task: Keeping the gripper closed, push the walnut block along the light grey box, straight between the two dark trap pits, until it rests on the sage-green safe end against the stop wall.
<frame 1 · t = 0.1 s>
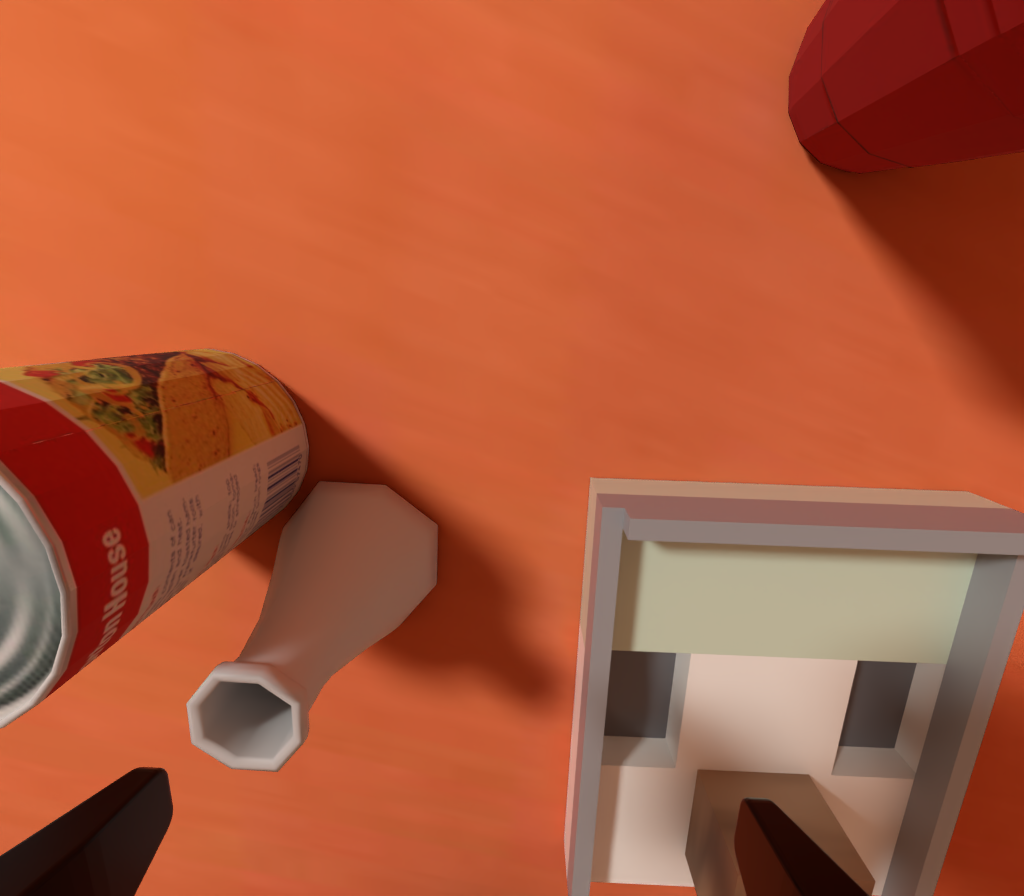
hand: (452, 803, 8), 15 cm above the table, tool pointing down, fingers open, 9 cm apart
flask: (364, 551, 23), on the table
canned food: (221, 440, 22), on the table
plastic cup: (870, 84, 18), on the table
walnut block: (745, 815, 24), point 2 cm above the table, touching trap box
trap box: (744, 684, 24), on the table
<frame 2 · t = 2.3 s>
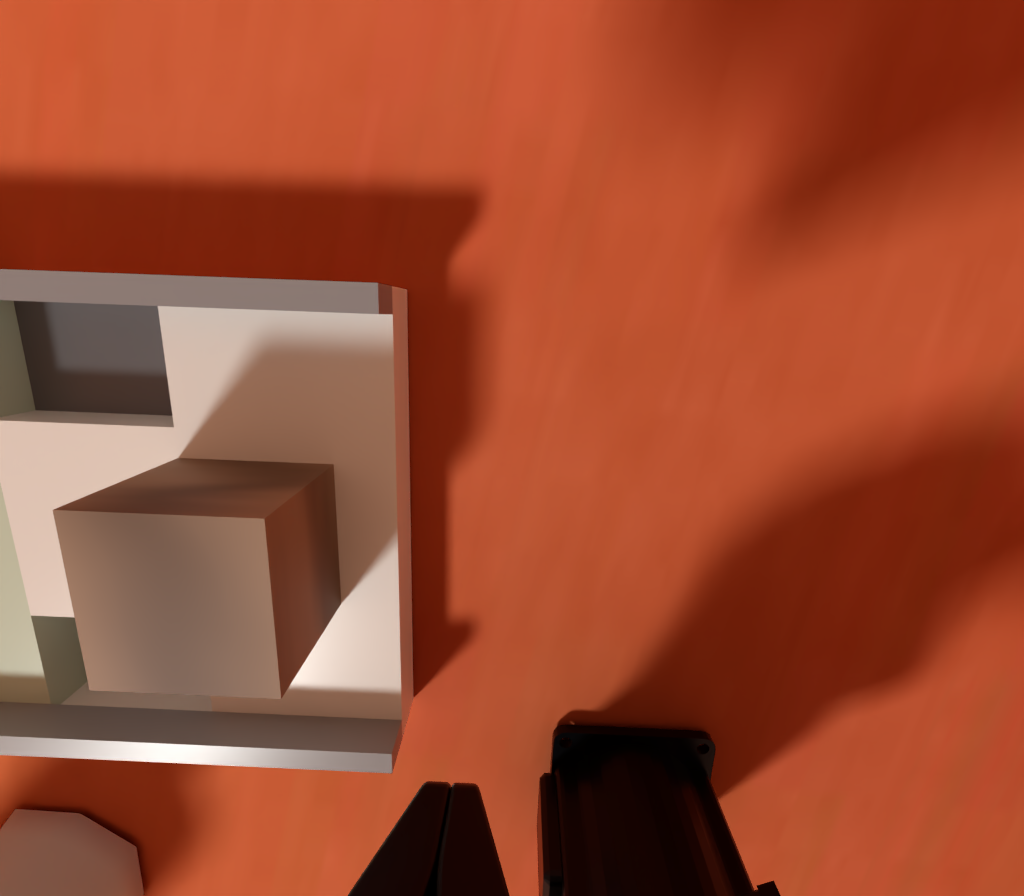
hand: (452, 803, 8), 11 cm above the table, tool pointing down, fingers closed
flask: (75, 859, 24), on the table
walnut block: (262, 533, 17), point 2 cm above the table, touching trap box
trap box: (141, 504, 19), on the table
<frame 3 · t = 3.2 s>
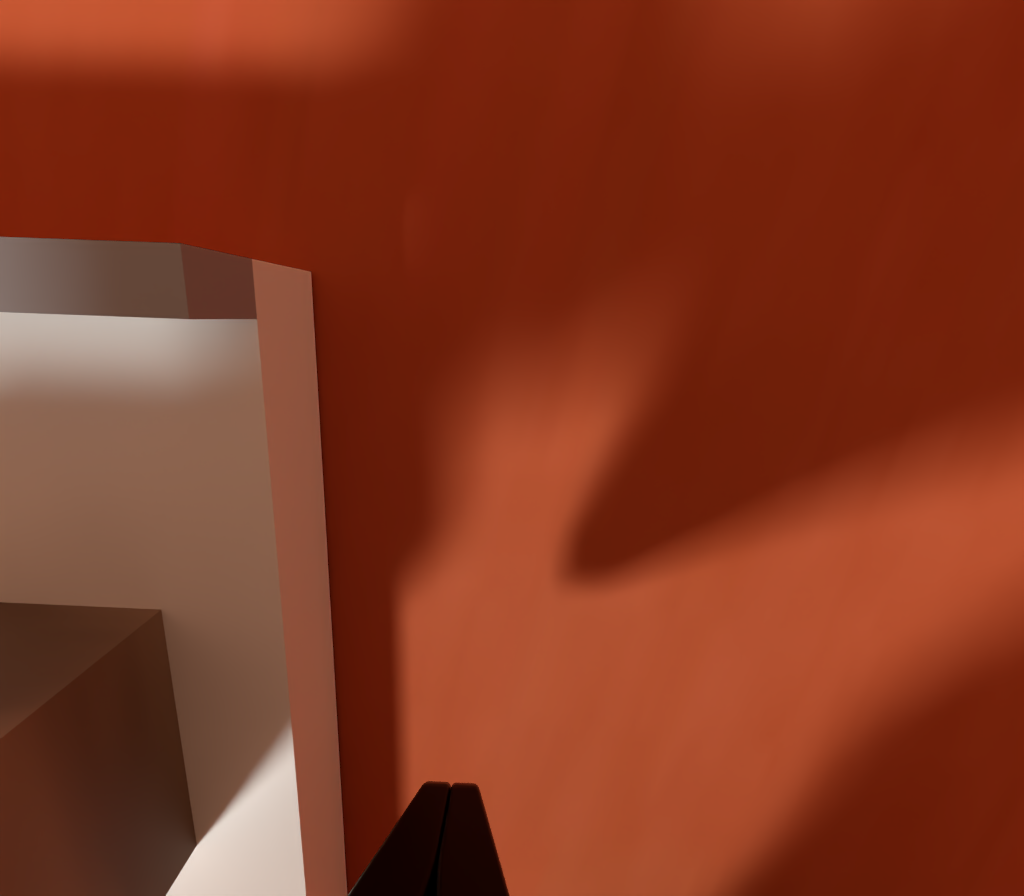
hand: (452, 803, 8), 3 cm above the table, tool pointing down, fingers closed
walnut block: (40, 728, 9), point 2 cm above the table, touching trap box
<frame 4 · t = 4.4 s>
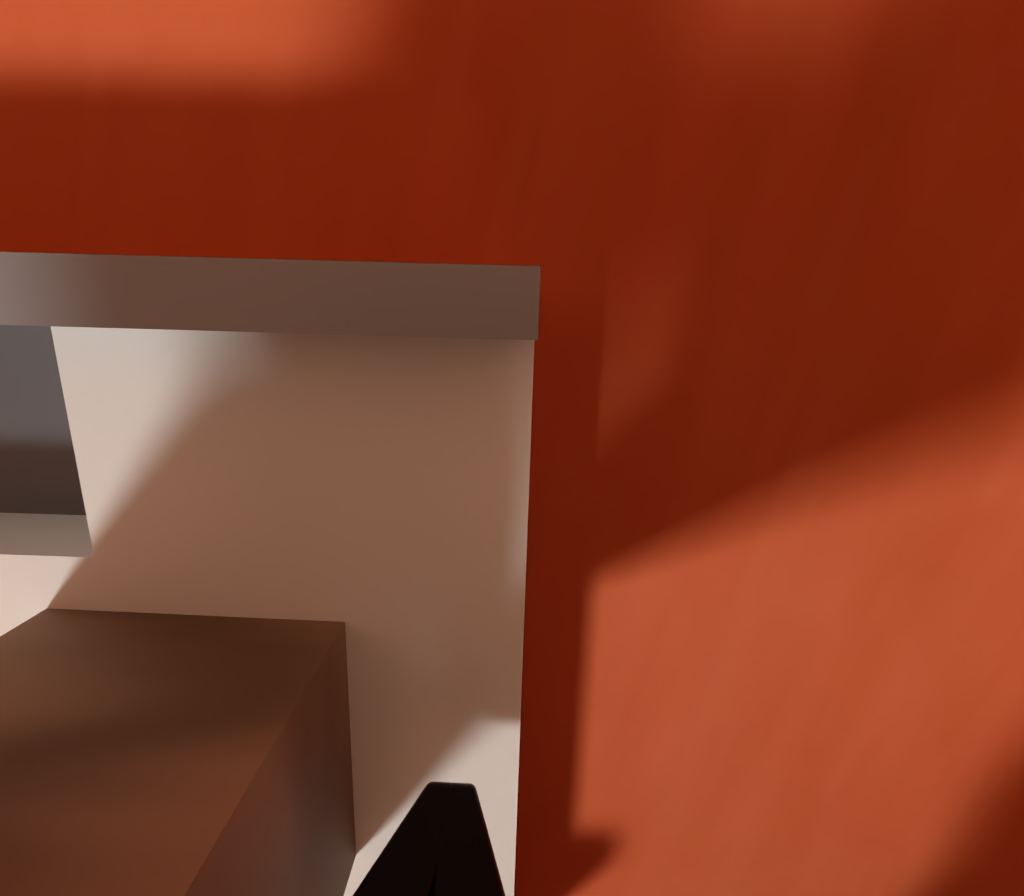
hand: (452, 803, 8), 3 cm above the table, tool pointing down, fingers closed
walnut block: (211, 739, 9), point 2 cm above the table, touching gripper
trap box: (60, 658, 11), on the table
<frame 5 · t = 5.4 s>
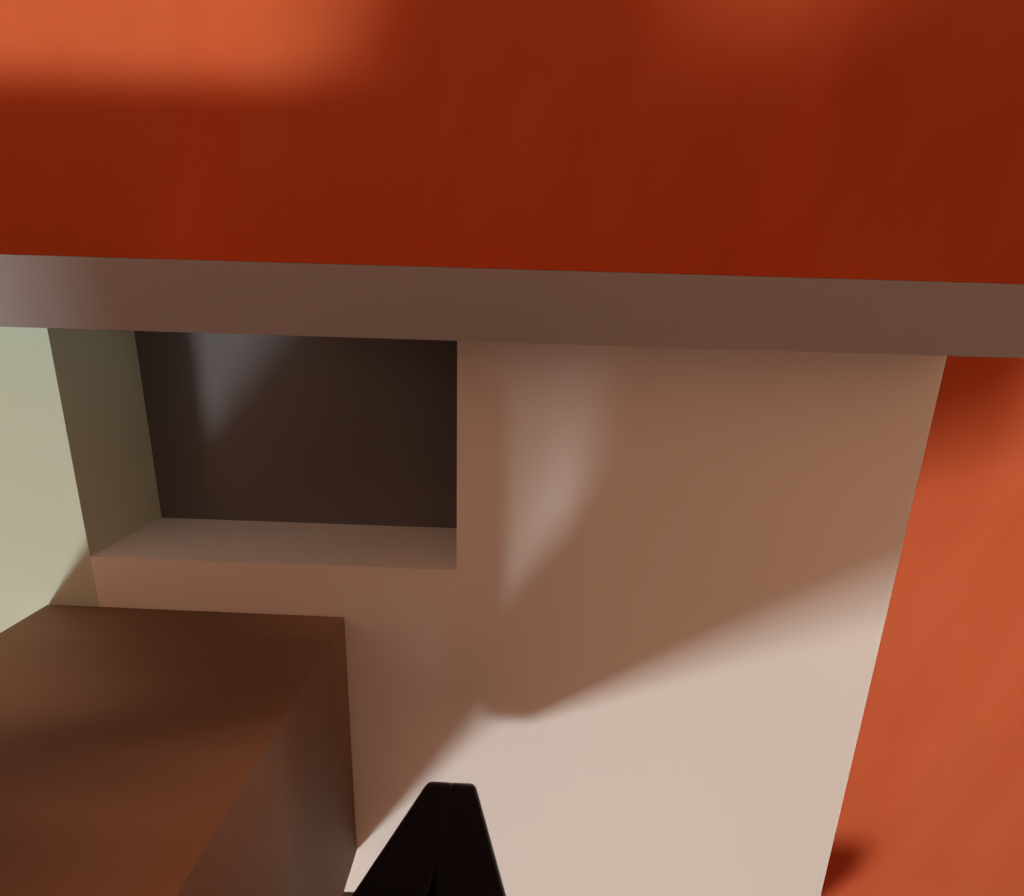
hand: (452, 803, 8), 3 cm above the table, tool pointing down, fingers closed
walnut block: (211, 735, 9), point 2 cm above the table, touching gripper
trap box: (330, 668, 11), on the table
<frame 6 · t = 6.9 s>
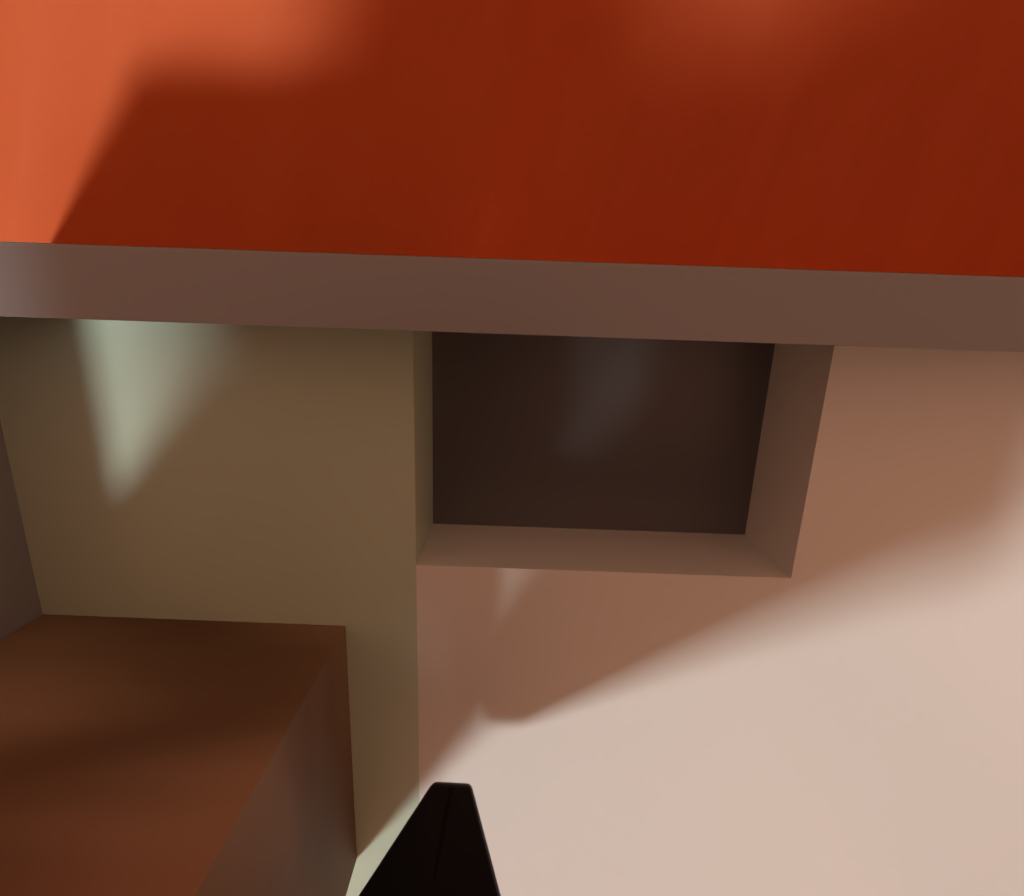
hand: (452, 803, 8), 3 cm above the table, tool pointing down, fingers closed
walnut block: (210, 744, 9), point 2 cm above the table, touching gripper, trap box
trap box: (575, 674, 11), on the table
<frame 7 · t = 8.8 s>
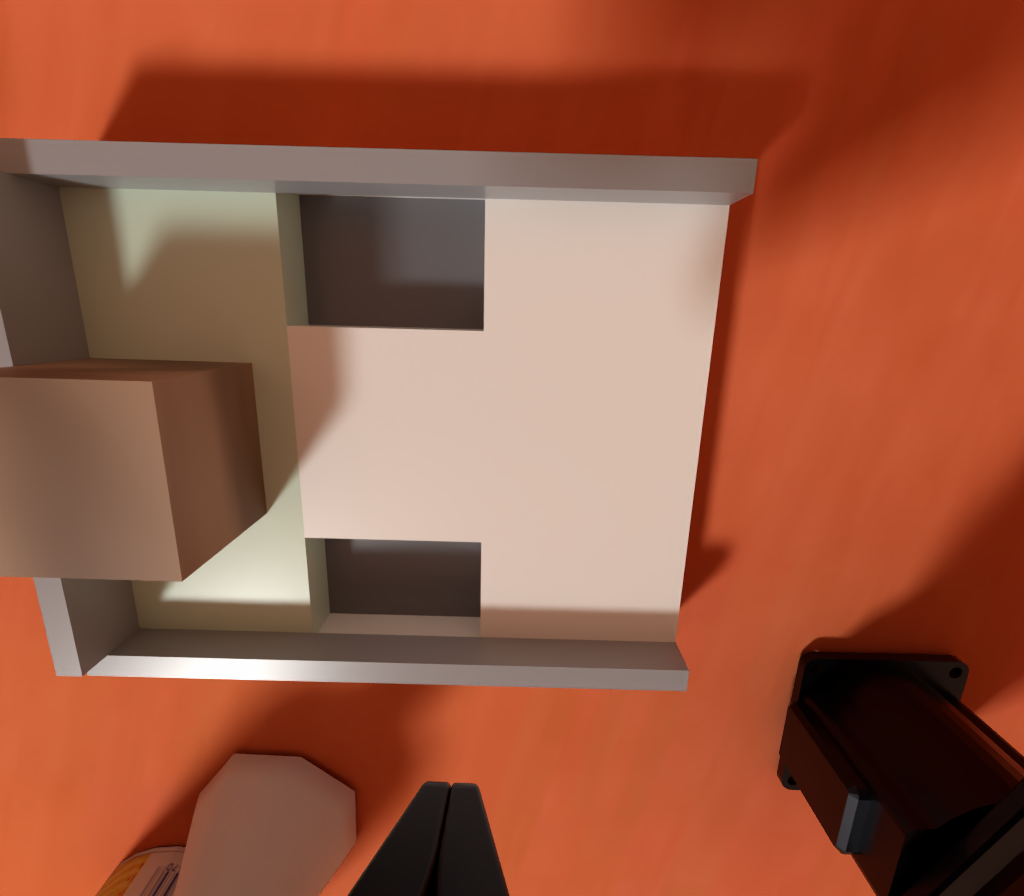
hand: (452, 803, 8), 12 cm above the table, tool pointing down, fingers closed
flask: (283, 807, 23), on the table
walnut block: (182, 438, 16), point 2 cm above the table, touching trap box
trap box: (402, 426, 18), on the table
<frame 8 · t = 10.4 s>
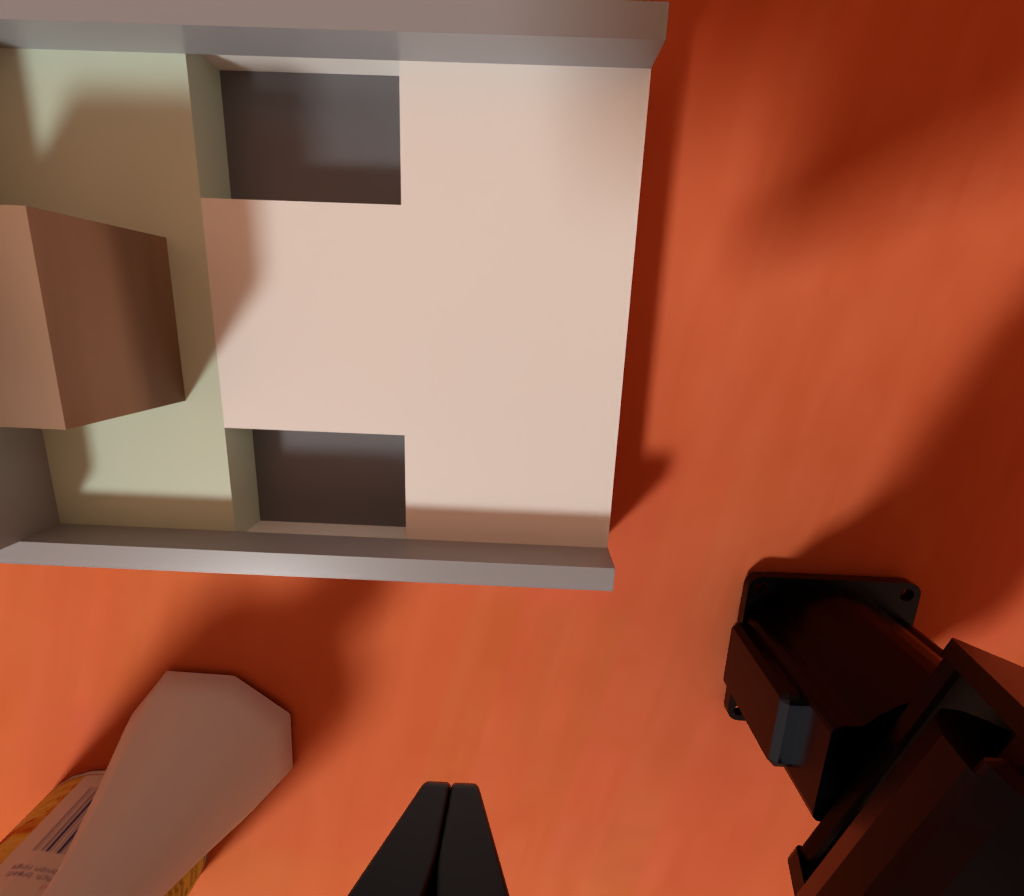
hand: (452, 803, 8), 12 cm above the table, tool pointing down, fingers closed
flask: (219, 732, 23), on the table
canned food: (128, 832, 24), on the table
walnut block: (97, 318, 16), point 2 cm above the table, touching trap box
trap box: (331, 322, 18), on the table
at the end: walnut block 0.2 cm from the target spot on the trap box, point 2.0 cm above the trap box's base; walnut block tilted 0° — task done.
